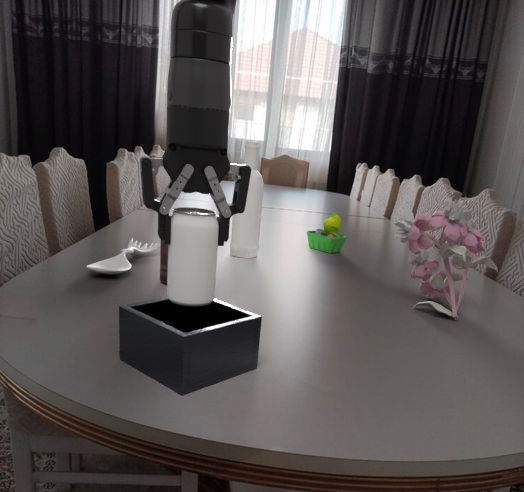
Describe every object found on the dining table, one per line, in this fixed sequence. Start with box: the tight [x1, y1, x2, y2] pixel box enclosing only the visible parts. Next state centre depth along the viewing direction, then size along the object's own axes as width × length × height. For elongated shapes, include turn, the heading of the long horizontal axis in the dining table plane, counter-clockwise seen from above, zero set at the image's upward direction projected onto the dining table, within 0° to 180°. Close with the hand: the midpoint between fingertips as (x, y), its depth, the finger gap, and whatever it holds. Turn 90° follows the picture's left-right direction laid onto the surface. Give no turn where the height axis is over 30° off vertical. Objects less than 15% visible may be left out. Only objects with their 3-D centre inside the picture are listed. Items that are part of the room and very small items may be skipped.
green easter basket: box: [305, 212, 348, 254], centre depth 162 cm, size 11×9×11 cm
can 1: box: [159, 240, 168, 286], centre depth 111 cm, size 6×6×14 cm
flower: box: [392, 195, 499, 323], centre depth 111 cm, size 20×22×25 cm
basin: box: [118, 296, 263, 396], centre depth 73 cm, size 14×14×8 cm
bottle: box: [229, 139, 265, 259], centre depth 140 cm, size 8×8×30 cm
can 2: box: [166, 206, 219, 306], centre depth 69 cm, size 6×6×12 cm
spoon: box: [85, 237, 161, 275], centre depth 124 cm, size 9×32×4 cm, turn 173°
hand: (193, 243), depth 68 cm, fingers closed on can 2, 6 cm apart
